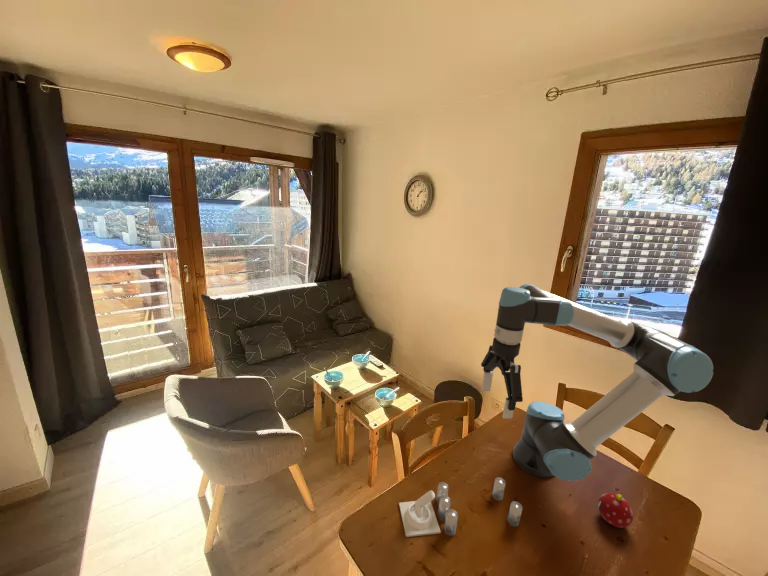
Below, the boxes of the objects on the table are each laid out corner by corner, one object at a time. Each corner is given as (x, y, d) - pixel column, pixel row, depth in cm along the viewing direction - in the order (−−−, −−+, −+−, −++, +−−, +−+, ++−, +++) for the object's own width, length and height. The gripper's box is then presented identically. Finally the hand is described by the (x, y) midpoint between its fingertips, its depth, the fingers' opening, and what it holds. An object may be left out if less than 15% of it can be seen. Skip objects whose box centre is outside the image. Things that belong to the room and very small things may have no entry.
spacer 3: (453, 524, 92) (455, 508, 91) (457, 535, 89) (459, 519, 88) (442, 525, 92) (445, 509, 90) (446, 536, 89) (448, 520, 87)
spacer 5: (514, 515, 96) (518, 500, 95) (521, 525, 93) (524, 510, 92) (505, 517, 96) (508, 502, 94) (511, 527, 93) (515, 512, 91)
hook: (452, 517, 88) (434, 510, 86) (423, 537, 92) (405, 531, 90) (445, 490, 95) (429, 482, 92) (419, 509, 99) (402, 502, 96)
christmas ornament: (633, 539, 91) (642, 512, 89) (599, 528, 94) (607, 501, 92) (623, 513, 99) (631, 488, 97) (591, 503, 102) (599, 478, 99)
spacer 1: (444, 496, 101) (446, 481, 100) (447, 505, 98) (450, 490, 97) (434, 497, 101) (436, 482, 99) (438, 506, 98) (440, 491, 96)
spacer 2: (446, 510, 97) (448, 494, 95) (449, 520, 94) (452, 504, 92) (436, 511, 96) (438, 495, 95) (439, 521, 93) (441, 505, 92)
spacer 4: (499, 491, 104) (502, 476, 103) (504, 500, 101) (507, 485, 100) (490, 492, 104) (493, 477, 102) (495, 501, 101) (498, 486, 99)
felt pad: (430, 501, 99) (430, 499, 99) (440, 533, 90) (440, 531, 90) (398, 504, 98) (399, 502, 97) (406, 537, 88) (406, 535, 88)
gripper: (476, 323, 104) (468, 381, 109) (519, 361, 80) (505, 432, 85) (497, 323, 105) (488, 380, 110) (546, 360, 81) (530, 430, 87)
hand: (495, 403), depth 98 cm, fingers open, 13 cm apart
